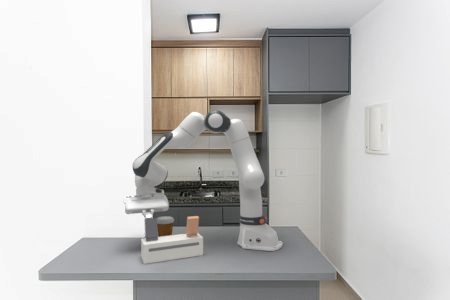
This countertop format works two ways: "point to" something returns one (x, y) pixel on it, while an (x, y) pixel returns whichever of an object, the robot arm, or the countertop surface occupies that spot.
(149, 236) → the rocker charcoal
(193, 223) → the rocker terracotta
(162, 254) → the switch box
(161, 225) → the disposable coffee cup
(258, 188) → the robot arm
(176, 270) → the countertop surface
